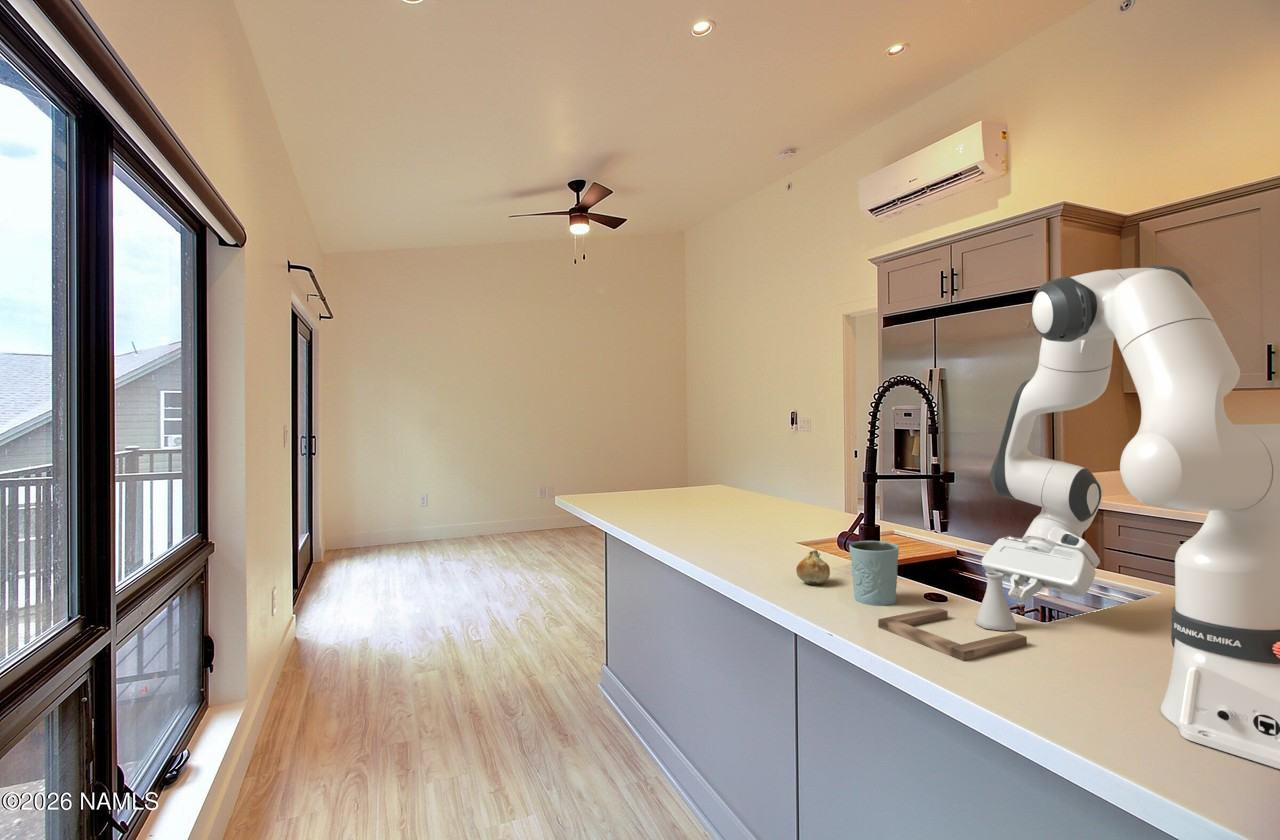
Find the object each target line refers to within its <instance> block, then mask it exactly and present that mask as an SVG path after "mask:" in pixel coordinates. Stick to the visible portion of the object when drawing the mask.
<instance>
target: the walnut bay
mask: <svg viewBox="0 0 1280 840" xmlns="http://www.w3.org/2000/svg"><path fill="white" fill-rule="evenodd" d="M948 613H949V612H948V610H946V609H943V608H940V607H933V608H928V609H923V610H917V611H914V612H913V611H912V612H908V613H903V614H898V615H893V616H889V617H888V616H887V617H883V618H878V619H877V620H878V621H877V622H878V623H877V625H878V628H880V629H883V630H885V631H888V632H890V633H893V634H895V635H897V636H899V637H903V638H905V639H907V640H909V641H913V642H914V643H915V642H916V643H918V644H920V645H922V646H926V647H927V648H930V649H933V650H935V651H938V652H941V654H942V653H943V654H945V655H948V656H950V657H952V658H954V659H958V660H959V661H962V662H966V661H970V660H973V659H976V658H977V659H978V658H981V657H984V656H989V655H993V654H997V653H1002V652H1005V651H1009V650H1013V649H1017V648H1021V647H1025V646H1027V645H1028V642H1027V641H1028V640H1027V636H1026V635H1023V634H1018V633H1016V632H1009V633H1005V634H1001V635H997V636H992V637H988V638H987V637H986V638H984V639H980V640H975V641H971V642H967V643H962V644H961V643H958V642H956V641H954V640H950V639H947V638H944V637H942V636H939V635H937V634H934V633H933V632H928V631H926V630H924V629H921V628H918V627H915V626H919V625H923V624H927V623H932V622H937V621H938V622H939V621H941V620H942V621H943V620H947V619H948V617H949V615H948Z"/></svg>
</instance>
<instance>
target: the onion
mask: <svg viewBox="0 0 1280 840" xmlns="http://www.w3.org/2000/svg"><path fill="white" fill-rule="evenodd" d="M807 554H808V555H807V556H804V558H803V559H802V560H800V562H799V563H798V564H797V566H796V568H795V569H796V570H795V571H796V572H795V573H796V575H797V576H798V578H799V579H800V580H801V581H803V582H804V583H806V584H808V585H814V586H816V585H821V584H823V583H825V582H826V581H828V580H829V578H830V576H831V575H830V574H831V569H830V566H829V564H828V563H827V562H826V561H824V560H823V559H822V558H820V556H821V553H820V552H819V551H818V549H815V550H814V549H813V550H810V552H808V553H807Z"/></svg>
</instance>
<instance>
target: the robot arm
mask: <svg viewBox="0 0 1280 840" xmlns="http://www.w3.org/2000/svg"><path fill="white" fill-rule="evenodd" d="M1030 309H1031V312H1030V313H1031V321H1032V324H1033V327H1034V328H1035V331H1036V332H1037V333H1038V334H1039V335H1040V336H1041V337H1042V338H1041V342H1040V347H1039V348H1040V349H1039V356H1038V357H1039V358H1038V366H1037V369H1036V371H1035V373H1034V375H1033V376H1032V378H1031V379H1027V380H1025V381H1023V382H1022V383H1021V384H1020V386H1018V388H1017V390H1016V392H1015V394H1014V396H1013V400H1012V403H1011V406H1010V408H1009V411H1008V415H1007V419H1006V423H1005V426H1004V430H1003V433H1002V436H1001V441H1000V445H999V448H998V451H997V453H996V456H995V458H994V461H993V463H992V465H991V469H990V473H989V481H990V484H991V486H992V488H993V489H994V491H995V492H996V493H997V495H998V496H1000V497H1002V498H1006V499H1011V500H1015V501H1022V502H1025V503H1028V504H1031V505H1035V506H1037V507H1041V510H1040V513H1039V514H1038V515H1037V516H1036V517H1034V518H1033V520H1032V522H1030V525H1029V526H1028V528H1027V529H1026V531H1025V533H1024V534H1023V536H1022V537H1015V536H1012V535H1006V536H1005V537H1001V538H999V539H997V540H996V542H995V543H993V544H992V546H991V547H990V548H989V549H988V551H987V552H986V553H985V554H984V556H983V557H982V558H981V565H982V568H984V570H985V572H1000V573H1003V574H1004V578H1003V579H1009V581H1010V586H1011V588H1010V590H1009V591H1008V597H1010V599H1011V600H1015V601H1018V602H1021V603H1027V602H1028V600H1029V599H1030V597H1033V595H1036V594H1037V593H1039V592H1040V591H1042V588H1044V589H1049V590H1052V591H1056V592H1061V593H1065V594H1069V595H1073V596H1077V597H1081V596H1083V595H1085V594H1087V593H1088V591H1089V590H1090V588H1091V586H1092V584H1093V582H1094V580H1095V576H1096V573H1097V572H1096V568H1098V566H1099V565H1100V563H1101V561H1100V558H1099V556H1098V555H1097V553H1096V551H1095V550H1094V549H1093V547H1092V546H1091V545H1090V544H1089V543H1088V542H1087V541H1086V539H1083V538H1082V537H1083V534H1084V532H1085V531H1086V530H1088V528H1089V527H1090V526H1091V525H1092V523H1093V521H1094V519H1095V517H1096V515H1097V512H1098V510H1099V508H1100V504H1101V502H1102V498H1103V495H1104V494H1103V493H1104V491H1103V489H1104V488H1103V487H1102V485H1101V483H1100V482H1099V481H1098V479H1097V478H1096V476H1095V475H1094V473H1093V472H1092V471H1090V470H1089V469H1088V468H1085V467H1083V466H1080V465H1078V464H1073V463H1070V462H1067V461H1062V460H1061V461H1060V460H1056V459H1051V458H1048V457H1043V456H1038V455H1035V454H1033V453H1031V452H1030V450H1028V444H1029V441H1030V437H1031V434H1032V431H1033V428H1034V424H1035V422H1036V418H1037V416H1039V415H1043V414H1049V413H1055V412H1056V413H1057V412H1065V411H1071V410H1075V409H1079V408H1082V407H1084V406H1087V405H1089V404H1091V403H1093V402H1094V401H1096V400H1097V399H1099V398H1100V397H1101V396H1102V395H1103V394H1104V393H1105V391H1106V390H1107V387H1108V385H1109V381H1110V379H1111V378H1110V376H1111V372H1112V364H1113V356H1114V355H1113V352H1114V341H1115V340H1116V343H1117V346H1118V348H1119V351H1120V353H1121V356H1122V358H1123V361H1124V362H1125V365H1126V367H1127V371H1128V372H1129V375H1130V376H1131V379H1132V382H1133V384H1134V387H1135V390H1136V393H1137V395H1138V398H1139V399H1138V400H1139V403H1140V411H1141V412H1140V414H1141V416H1140V424H1139V426H1138V430H1137V432H1136V434H1135V435H1134V437H1132V438H1131V439H1130V441H1129V442H1128V443H1127V444H1126V445H1125V447H1124V449H1123V450H1122V452H1121V453H1122V454H1121V455H1120V463H1119V471H1120V476H1121V480H1122V482H1123V484H1124V486H1125V488H1126V489H1127V491H1128V492H1129V494H1131V495H1132V497H1133V498H1135V499H1136V500H1137V501H1139V502H1140V503H1141V504H1145V505H1147V506H1151V507H1156V508H1160V509H1161V508H1162V509H1167V510H1174V511H1180V512H1208V513H1207V516H1206V519H1205V520H1204V522H1203V524H1202V526H1201V527H1200V529H1199V530H1198V531H1197V533H1196V534H1194V535H1193V536H1192V537H1190V538H1189V539H1187V540H1186V541H1185V542H1183V544H1181V545H1180V546H1179V548H1178V549H1177V551H1176V553H1175V557H1174V571H1175V572H1174V586H1175V587H1174V591H1175V592H1174V593H1175V595H1174V596H1175V597H1174V598H1175V601H1174V604H1175V605H1174V606H1173V607H1172V608H1171V613H1170V614H1171V615H1170V616H1171V619H1170V621H1171V623H1170V635H1171V636H1170V639H1171V644H1172V645H1171V646H1172V647H1173V656H1172V664H1171V671H1170V676H1169V680H1168V685H1167V687H1166V692H1165V695H1164V697H1163V698H1164V699H1163V701H1162V703H1161V705H1160V711H1161V713H1162V715H1163V716H1164V717H1165V718H1166V719H1167V720H1168V721H1170V722H1171V723H1172V724H1173V725H1175V726H1176V727H1177V728H1178V732H1179V733H1180V735H1181V736H1182V737H1183V738H1185V739H1186V740H1189V741H1191V742H1194V743H1197V744H1200V745H1203V746H1206V747H1209V748H1213V749H1215V750H1219V751H1222V752H1224V753H1229V754H1231V755H1235V756H1238V757H1240V758H1244V759H1247V760H1250V761H1253V762H1256V763H1260V764H1263V765H1265V766H1269V767H1271V768H1275V769H1279V770H1280V423H1258V424H1257V423H1255V424H1254V423H1252V424H1251V423H1250V424H1234V423H1232V421H1230V419H1229V418H1228V416H1227V413H1226V410H1225V404H1224V398H1225V397H1227V395H1228V394H1229V393H1231V392H1232V391H1233V389H1234V388H1235V387H1236V385H1237V384H1238V382H1239V380H1240V378H1241V377H1240V376H1241V369H1240V366H1239V364H1238V362H1237V361H1236V359H1235V356H1234V355H1233V353H1232V351H1231V349H1230V347H1229V346H1228V344H1227V342H1226V339H1225V338H1224V336H1223V334H1222V332H1221V330H1220V327H1219V326H1218V325H1217V323H1216V320H1215V319H1214V317H1213V316H1212V314H1211V312H1210V310H1209V309H1208V307H1207V306H1206V304H1205V303H1204V302H1203V300H1202V299H1201V298H1200V297H1199V295H1198V293H1197V292H1196V291H1195V289H1194V286H1193V283H1192V281H1191V280H1190V278H1189V276H1188V275H1187V274H1186V272H1185V271H1183V269H1180V268H1178V267H1174V266H1169V265H1168V266H1167V265H1149V266H1147V267H1130V268H1128V267H1127V268H1118V269H1102V270H1096V271H1090V272H1085V273H1081V274H1077V275H1072V276H1062V277H1057V278H1055V279H1054V278H1053V279H1051V280H1049V281H1047V282H1044V283H1043V284H1042V285H1040V286H1039V288H1038V289H1037V290H1036V292H1035V294H1034V296H1033V298H1032V301H1031V308H1030ZM1024 584H1027V586H1025V587H1024V588H1023V589H1020V587H1023V585H1024Z"/></svg>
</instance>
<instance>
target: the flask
mask: <svg viewBox="0 0 1280 840" xmlns="http://www.w3.org/2000/svg"><path fill="white" fill-rule="evenodd" d="M985 577H986V581H987V582H986V590H985V593H984V597H983V599H982V601H981V604H980V607H979V610H978V612H977V614H976V617H975V621H974V624H975V625H977V626H979V627H981V628H983V629H986V630H987V629H988V630H995V631H1014V630H1016V631H1017V623H1016V621H1015V618H1014V615H1013V613H1012V611H1011V609H1010V606H1009V603H1008V600H1007V598H1006V595H1005V591H1004V585H1003V579H1005V578H1004V574H1003V573H1000V572H987V571H985Z"/></svg>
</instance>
